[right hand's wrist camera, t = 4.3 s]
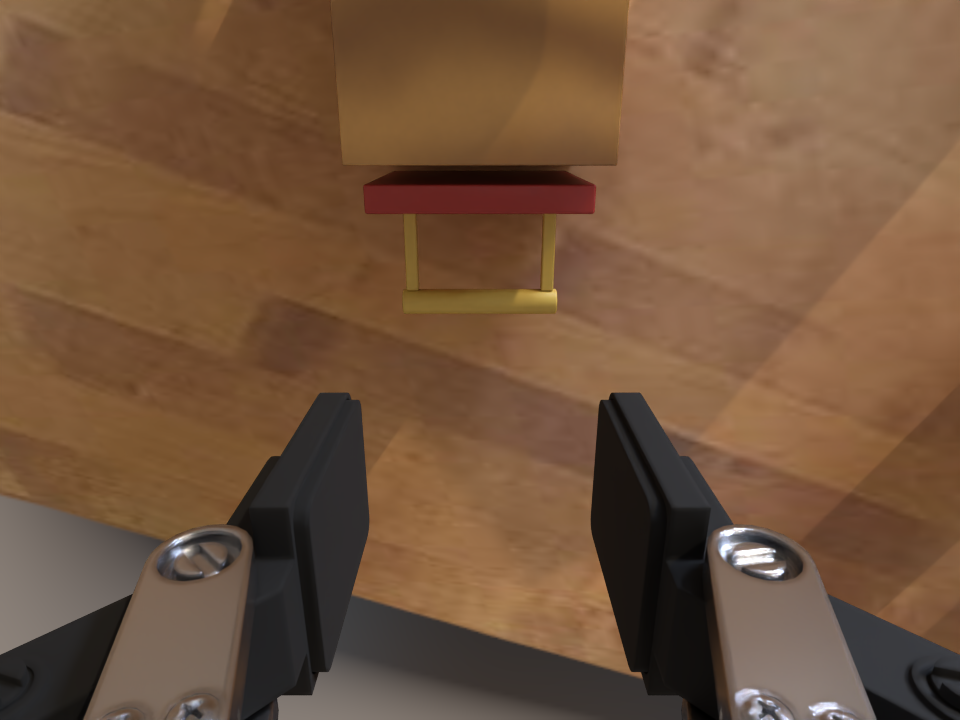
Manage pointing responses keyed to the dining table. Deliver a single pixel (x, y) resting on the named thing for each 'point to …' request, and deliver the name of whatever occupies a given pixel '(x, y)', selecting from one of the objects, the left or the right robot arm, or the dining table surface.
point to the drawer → (479, 197)
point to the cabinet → (479, 81)
